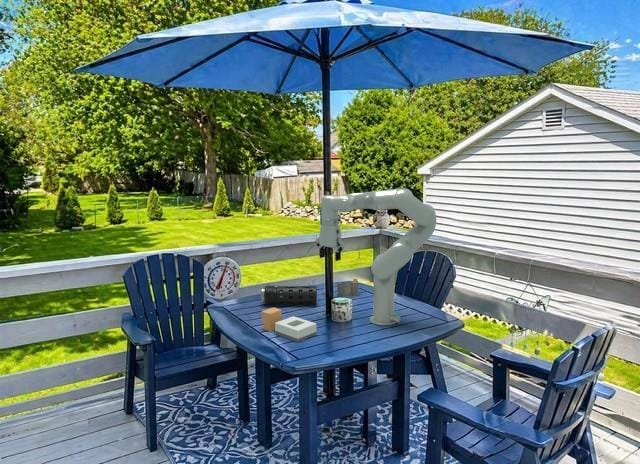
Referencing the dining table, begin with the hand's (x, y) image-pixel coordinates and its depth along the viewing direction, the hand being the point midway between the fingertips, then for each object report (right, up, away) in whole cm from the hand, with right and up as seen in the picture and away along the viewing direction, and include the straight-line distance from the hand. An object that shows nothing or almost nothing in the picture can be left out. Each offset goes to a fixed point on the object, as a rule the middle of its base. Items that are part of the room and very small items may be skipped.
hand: (330, 258), depth 215 cm
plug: (-26, -30, -9) cm, 41 cm away
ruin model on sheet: (+11, -23, +39) cm, 46 cm away
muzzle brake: (-20, -25, +23) cm, 40 cm away
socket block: (-15, -31, -16) cm, 38 cm away
